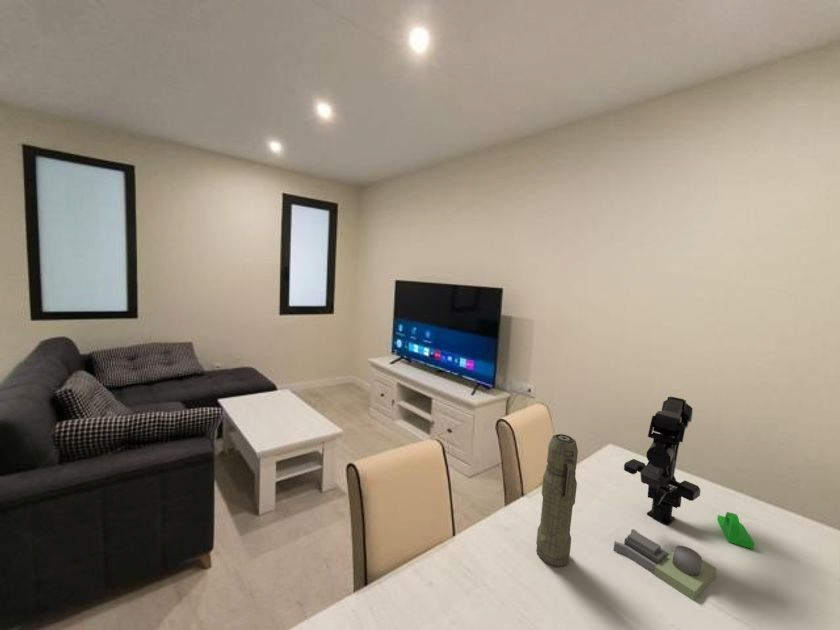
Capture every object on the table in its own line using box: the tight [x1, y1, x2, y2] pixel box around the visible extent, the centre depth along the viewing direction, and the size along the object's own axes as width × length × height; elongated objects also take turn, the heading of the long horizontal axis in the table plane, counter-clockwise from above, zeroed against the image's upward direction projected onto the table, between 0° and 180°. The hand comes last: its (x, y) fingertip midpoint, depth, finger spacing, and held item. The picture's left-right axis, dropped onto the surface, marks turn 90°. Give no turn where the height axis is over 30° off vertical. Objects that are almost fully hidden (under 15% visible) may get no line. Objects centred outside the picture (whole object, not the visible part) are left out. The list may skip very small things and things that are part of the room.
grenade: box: [535, 433, 579, 569], centre depth 99 cm, size 9×12×35 cm
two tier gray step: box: [623, 530, 667, 565], centre depth 102 cm, size 5×9×5 cm, turn 34°
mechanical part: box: [716, 511, 755, 550], centre depth 115 cm, size 12×6×8 cm, turn 153°
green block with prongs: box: [612, 528, 717, 601], centre depth 101 cm, size 16×20×6 cm
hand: (656, 504), depth 108 cm, fingers closed
